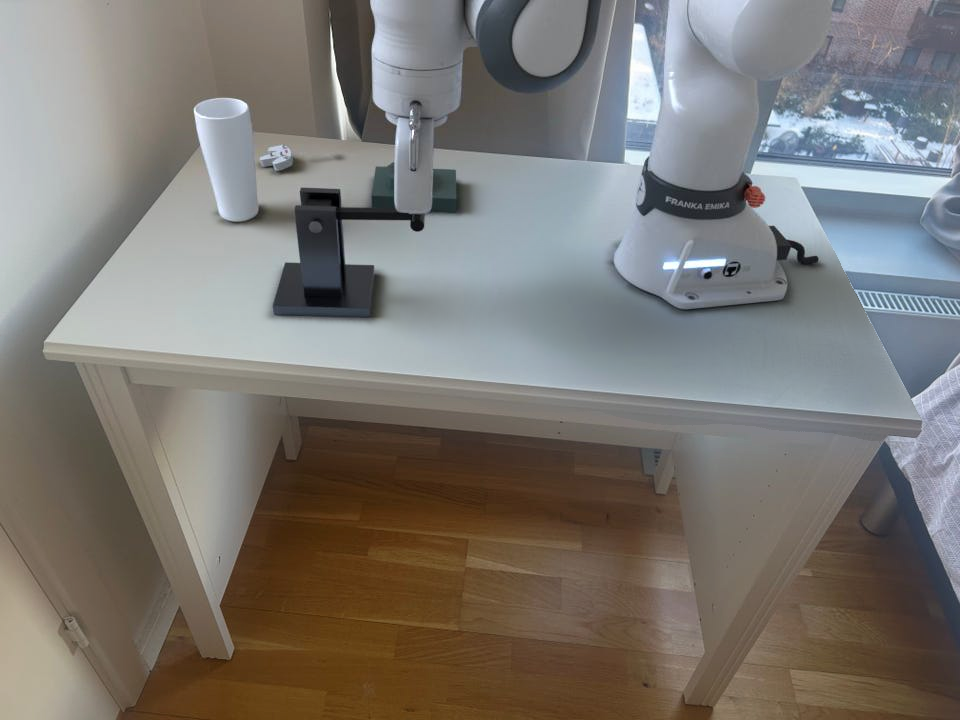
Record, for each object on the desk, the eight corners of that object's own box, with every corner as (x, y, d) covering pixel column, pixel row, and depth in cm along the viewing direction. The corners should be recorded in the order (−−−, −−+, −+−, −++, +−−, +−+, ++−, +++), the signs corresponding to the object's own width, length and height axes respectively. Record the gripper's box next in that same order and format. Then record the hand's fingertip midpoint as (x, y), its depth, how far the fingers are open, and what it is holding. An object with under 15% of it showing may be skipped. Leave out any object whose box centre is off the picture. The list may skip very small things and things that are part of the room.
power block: (455, 182, 113) (456, 158, 111) (455, 212, 106) (457, 187, 104) (376, 179, 112) (375, 154, 110) (371, 209, 106) (370, 184, 103)
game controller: (254, 161, 114) (252, 145, 113) (320, 144, 120) (319, 129, 119) (271, 175, 111) (269, 159, 109) (338, 158, 117) (337, 142, 115)
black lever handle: (425, 212, 86) (425, 193, 84) (424, 235, 82) (424, 216, 81) (310, 211, 85) (308, 192, 84) (304, 234, 82) (301, 215, 80)
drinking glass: (252, 229, 100) (234, 122, 90) (204, 221, 100) (182, 114, 90) (272, 205, 105) (258, 101, 95) (227, 198, 105) (208, 94, 96)
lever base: (374, 273, 94) (371, 181, 85) (369, 317, 87) (364, 221, 78) (286, 270, 93) (273, 177, 84) (273, 314, 86) (259, 217, 78)
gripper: (449, 129, 66) (443, 260, 75) (448, 51, 81) (443, 167, 90) (378, 126, 65) (380, 258, 75) (390, 47, 81) (391, 165, 90)
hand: (415, 207), depth 83 cm, fingers closed, pressing on black lever handle
